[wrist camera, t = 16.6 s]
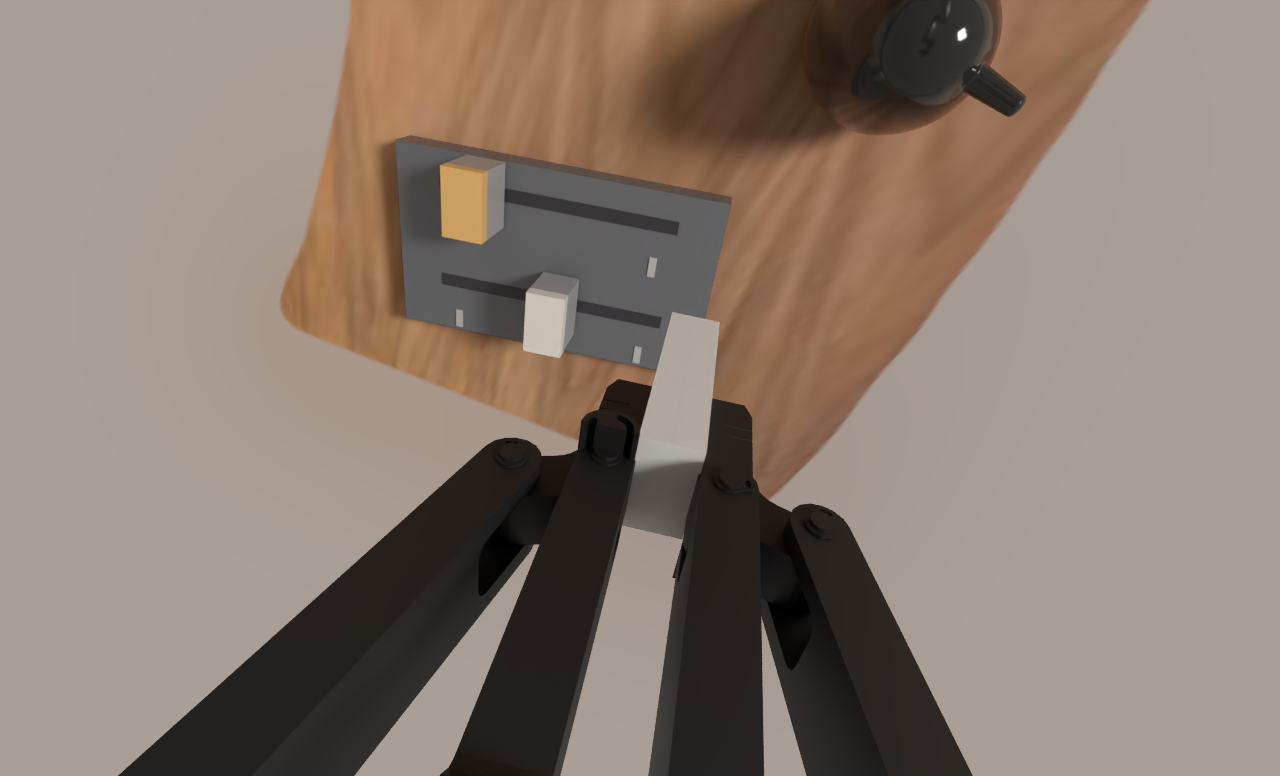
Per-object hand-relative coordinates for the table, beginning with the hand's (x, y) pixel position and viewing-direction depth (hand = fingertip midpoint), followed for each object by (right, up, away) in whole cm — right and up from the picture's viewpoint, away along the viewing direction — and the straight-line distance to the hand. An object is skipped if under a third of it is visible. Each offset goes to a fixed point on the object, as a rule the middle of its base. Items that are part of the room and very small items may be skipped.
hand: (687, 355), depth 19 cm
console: (-8, +10, +31) cm, 34 cm away
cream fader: (-8, +6, +30) cm, 32 cm away
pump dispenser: (+14, +22, +21) cm, 33 cm away
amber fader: (-13, +14, +27) cm, 33 cm away
